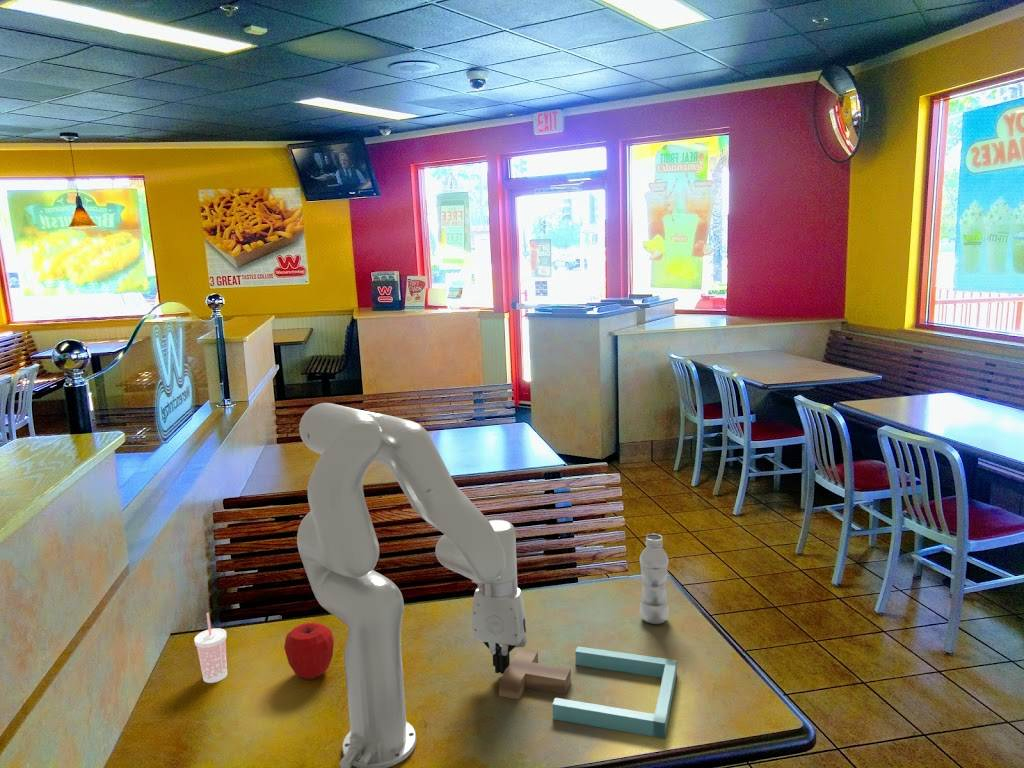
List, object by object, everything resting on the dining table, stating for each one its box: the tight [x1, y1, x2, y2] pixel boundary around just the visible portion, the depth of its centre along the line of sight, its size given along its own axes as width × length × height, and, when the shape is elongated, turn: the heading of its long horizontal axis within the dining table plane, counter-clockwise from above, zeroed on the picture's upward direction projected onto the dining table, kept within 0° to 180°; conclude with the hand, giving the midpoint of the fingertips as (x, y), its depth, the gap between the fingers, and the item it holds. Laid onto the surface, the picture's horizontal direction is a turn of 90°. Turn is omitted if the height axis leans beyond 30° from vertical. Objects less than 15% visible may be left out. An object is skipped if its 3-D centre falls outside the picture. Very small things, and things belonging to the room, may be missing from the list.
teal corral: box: [551, 646, 678, 739], centre depth 139 cm, size 20×20×3 cm
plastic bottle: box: [639, 533, 670, 625], centre depth 164 cm, size 6×7×20 cm
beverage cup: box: [193, 612, 228, 684], centre depth 149 cm, size 6×6×14 cm
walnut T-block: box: [498, 648, 572, 700], centre depth 144 cm, size 12×12×3 cm
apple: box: [283, 622, 335, 681], centre depth 149 cm, size 10×10×11 cm
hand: (501, 669), depth 146 cm, fingers closed
